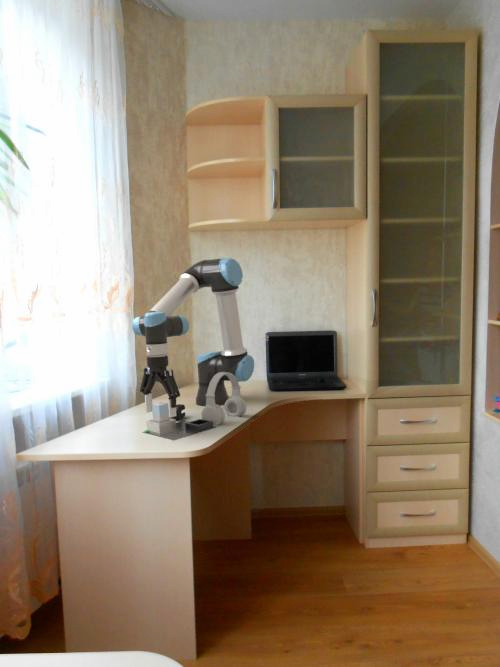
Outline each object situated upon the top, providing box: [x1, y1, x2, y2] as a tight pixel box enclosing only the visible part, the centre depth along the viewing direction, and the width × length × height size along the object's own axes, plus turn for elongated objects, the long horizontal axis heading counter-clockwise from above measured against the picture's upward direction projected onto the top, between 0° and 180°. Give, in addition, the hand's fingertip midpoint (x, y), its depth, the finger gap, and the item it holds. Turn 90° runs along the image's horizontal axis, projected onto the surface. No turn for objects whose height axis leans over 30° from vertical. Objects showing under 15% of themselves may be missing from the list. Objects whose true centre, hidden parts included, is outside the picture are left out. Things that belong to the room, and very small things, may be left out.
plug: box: [152, 402, 169, 423], centre depth 185 cm, size 4×4×10 cm
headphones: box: [201, 372, 247, 427], centre depth 199 cm, size 20×8×19 cm, turn 149°
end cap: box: [168, 403, 186, 422], centre depth 204 cm, size 10×7×7 cm
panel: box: [141, 418, 217, 441], centre depth 187 cm, size 20×18×5 cm
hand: (160, 414), depth 185 cm, fingers open, 13 cm apart
